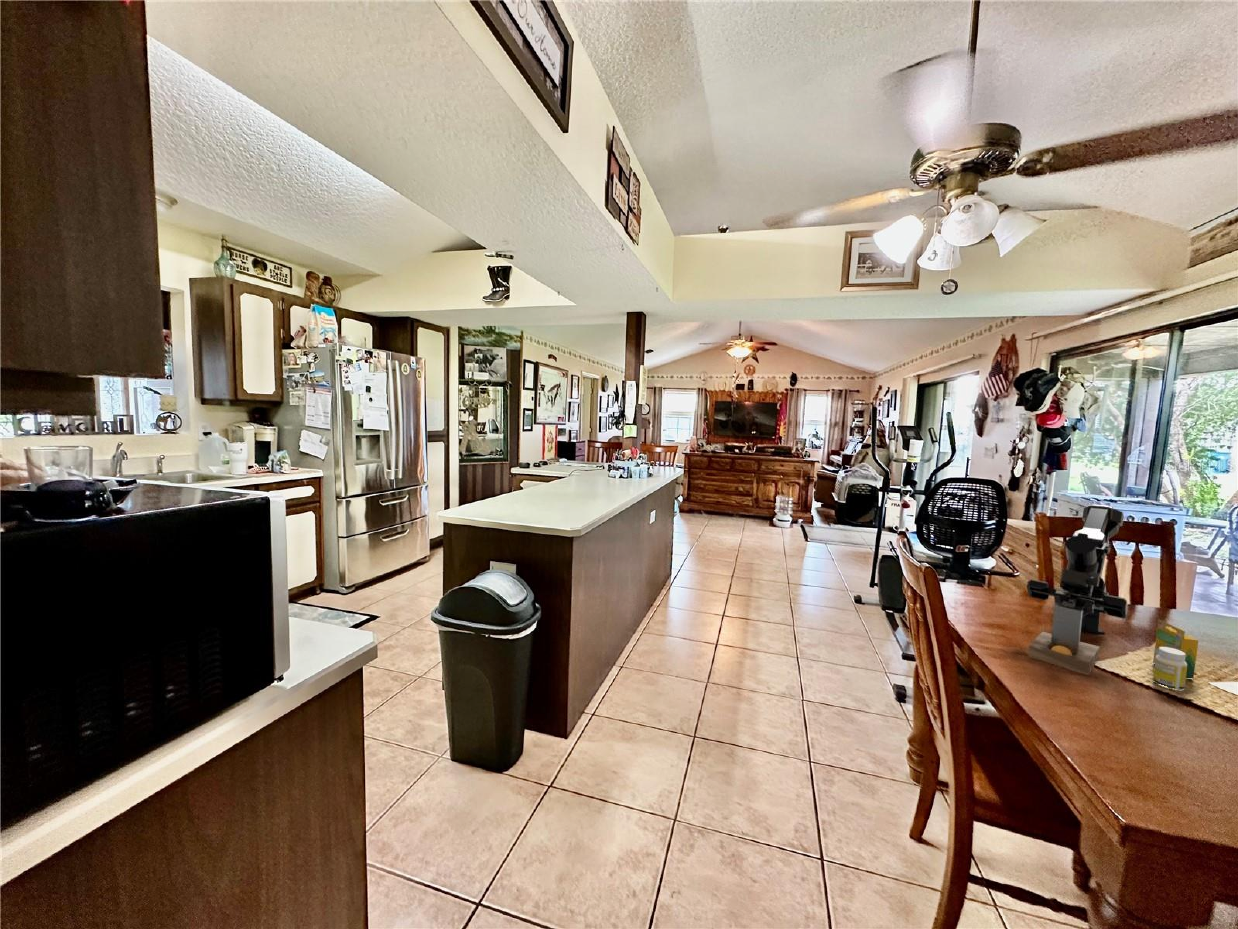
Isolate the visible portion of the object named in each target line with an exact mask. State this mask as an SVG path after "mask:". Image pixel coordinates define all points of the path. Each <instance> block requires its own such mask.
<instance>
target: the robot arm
mask: <svg viewBox="0 0 1238 929" xmlns="http://www.w3.org/2000/svg"><path fill="white" fill-rule="evenodd" d="M1124 518H1125V517H1124V512H1123V511H1120V510H1118V509H1115V508H1113V506H1110V505H1104V504H1103V505H1102V504H1095V503H1094V504H1093V503H1092V504H1088V506H1085V507H1083V510H1082V516H1081V520H1082V522H1084V523H1083V525H1082V529H1078V530H1076V531H1074V532H1073V534H1072V535H1071V537H1068V538H1067V539H1066V540H1065V543H1064V549H1065V553H1066V560H1067V561H1068V563H1067V566H1066V569H1064V568H1063V569H1062V571H1061V575H1060V583H1059V587H1060V588H1058V587H1056V588H1051V587H1049V582H1047V581H1041V580H1038V579H1034V578H1032V579H1030V580H1028V581H1027V584H1026V588H1027V589H1026V591H1027V593H1028V597H1030V598H1031V599H1037V600H1041V601H1046V600H1048V599H1049V598H1050V597H1051V596H1052V597H1054V598H1053V599H1054V605H1055V604H1056V603H1057V604H1062V602H1063V601H1070V602H1073V603H1075V604H1076V605H1075V608H1079V609H1083V614H1082V624H1081V632H1089V633H1097V634H1106V632H1105V630H1103V629H1101V628H1100V619H1101V613H1102V614H1106V615H1108V616H1109V617H1114V618H1120V619H1126V618H1127V614H1128V600H1127V599H1126V598H1124V597H1121V596H1117V595H1116V596H1115V595H1110V594H1109V592H1107V587H1106V583H1105V580H1104V579H1103V578H1102V575H1103V570H1104V565H1105V561H1106V560H1105V559H1106V556H1107V555H1109V554H1110V552H1111V547H1110V545H1109V541H1110V539H1111V538H1113V537H1114V536H1116V535H1117V534H1118V533H1119V529H1120V527H1123V524H1124ZM1049 596H1050V597H1049Z"/></svg>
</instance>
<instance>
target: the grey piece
mask: <svg viewBox="0 0 1238 929" xmlns="http://www.w3.org/2000/svg"><path fill="white" fill-rule="evenodd" d="M1075 605H1076V604H1075V603H1073V602H1070V601H1063V602H1062V604H1057V603H1056V604H1055V603H1054V605H1053V606H1054V608H1053V614H1052V615H1053V616H1052V617H1053V618H1052V627H1051V634H1052V636H1051V643H1054V644H1057V645H1061V646H1065V647H1068V648H1072V649H1075V650H1078V649H1079V644H1080V642H1081V633H1082V631H1081V624H1082V614H1083V609H1079V608H1075Z"/></svg>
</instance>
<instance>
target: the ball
mask: <svg viewBox="0 0 1238 929" xmlns="http://www.w3.org/2000/svg"><path fill="white" fill-rule="evenodd" d="M1051 650H1052V651H1055V652H1059V653H1062V654H1066V655H1072V653H1071V652H1070V650H1069V649H1067V648H1066V647H1064V646H1054V647H1052V649H1051Z"/></svg>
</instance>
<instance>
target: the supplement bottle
mask: <svg viewBox="0 0 1238 929" xmlns="http://www.w3.org/2000/svg"><path fill="white" fill-rule="evenodd" d="M1158 654H1159V655H1157V656H1156V657H1155V665H1153V666H1154V668H1153V675H1152V677H1153V678H1152V681H1155V682H1156V683H1157V684H1161V685H1164V686H1167V687H1168V688H1174V689H1177V690H1183V689H1184V690H1185V688H1186V681H1187V680H1186V672H1187V663H1186V662H1185V661H1184V660H1185V656H1186V654H1185V653H1184V652H1182V651H1180V650H1177V649H1173V648H1169V647H1159V650H1158ZM1157 684H1156V685H1157Z"/></svg>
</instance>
